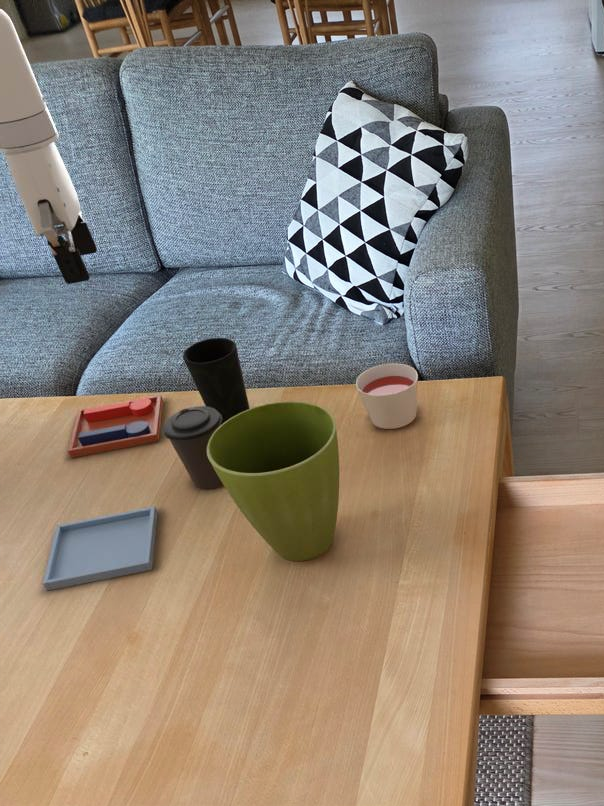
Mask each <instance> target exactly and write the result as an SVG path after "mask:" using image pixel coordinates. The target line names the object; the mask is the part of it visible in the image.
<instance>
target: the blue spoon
mask: <svg viewBox="0 0 604 806" xmlns="http://www.w3.org/2000/svg"><path fill="white" fill-rule="evenodd" d="M146 434H150V428H149V426H148V423H147V422H145V421H137V422H134V423H131V424H129V425H128V426H127V427H126V425H120V426H115V427H109V428H104V429H99V430H93V431H88V432H83V433H79V436H78V439H79V441H80V443H81V445H82V446H88V445H93V444H99V443H104V442H109V441H114V440H120V439H125V438H128V437H129V438H130V437H136V436H141V435H146Z"/></svg>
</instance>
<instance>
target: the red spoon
mask: <svg viewBox="0 0 604 806" xmlns="http://www.w3.org/2000/svg"><path fill="white" fill-rule="evenodd" d="M141 398H142V399H140V398H137V399H138V400H135V399H134V400H135V401H133V402H132V403H131V404H130V402H124V401H122V402H123V403H119V402H117V403H118V404H113V403H112V404H113V405H108V404H106V405H107V406H102V405H101V406H102V407H97V406H95V407H96V408H92V407H90V408H91V409H86V408H85V409H86V410H84V416H85V418H86V420H87V423H90V422H95V421H100V420H106V419H111V418H117V417H122V416H127V415H132V414H133V415H134V416H144V415H147V414H149V413H150V412H152V411H153V405H152V403H151V400H150V399H147V398H146V397H141Z"/></svg>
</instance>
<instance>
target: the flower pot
mask: <svg viewBox="0 0 604 806" xmlns="http://www.w3.org/2000/svg"><path fill="white" fill-rule="evenodd" d="M339 454H340V453H339V441H338V431H337V423H336V419H335V418H334V416H333V415H332V414H331V413H330V412H329V411H328V410H327V409H325V408H324V407H322V406H319V405H317V404H314V403H312V402H311V403H310V402H304V401H296V400H295V401H294V400H292V401H291V400H290V401H288V400H287V401H286V400H285V401H277V402H276V401H275V402H270V403H265V404H262V405H258V406H254V407H251V408H250V409H249V410H246V411H244V412H241V413H239V414H237V415H235V416H234V417H232V418H230V419H229V420H227V421H226V422H224V423H223V424H222V425H221V426H219V427H218V428H217V429H216V431H215V432H214V433H213V434H212V436H211V438H210V440H209V442H208V446H207V456H208V458H209V460H210V462H211V464H212V466H213V468H214V469H215V471H216V473H217V475H218V476H219V478H220V480H221V481H222V483H223V487H224V489H225V490H226V492H227V493H228V495H229V496H230V498H231V499H232V501H233V502H234V503H235V505H236V506H237V508H238V510H240V512H241V513H242V515H243V516H244V517H245V518H246V520H247V521H248V522H249V524H250V525H251V526H252V528H253V529H254V530H255V531H256V532H257V534H259V536H260V537H261V539H263V540H264V541H265V543H267V544H268V545H269V547H270V548H271V549H272V550H273V551H274V552H275V553H277V555H279V556H280V557H281V558H282V559H284V560H287V561H292V562H305V561H310V560H312V559H316V558H317V557H319V556H321V555H323V554H325V553H326V552H327V551H328V550H329V548H330V547H331V546H332V545H333V543H334V538H335V532H336V527H337V521H338V520H337V519H338V511H339V499H340V497H339V496H340V455H339Z"/></svg>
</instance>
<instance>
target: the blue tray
mask: <svg viewBox="0 0 604 806" xmlns="http://www.w3.org/2000/svg"><path fill="white" fill-rule="evenodd" d="M157 510H158V509H157V508H156V506H149V507H143V508H139V509H134V510H128V511H124V512H118V513H113V514H108V515H102V516H98V517H93V518H87V519H82V520H76V521H72V522H67V523H62V524H61V523H60V524H57V525H55V529H54V530H55V531H54V534H53V539H52V543H51V547H50V551H49V555H48V561H47V564H46V568H45V571H44V577H43V581H42V585H43V587H44V589H45V590H46V591H53V590H57V589H62V588H67V587H71V586H77V585H78V586H79V585H82V584H88V583H92V582H97V581H102V580H108V579H113V578H117V577H122V576H127V575H133V574H137V573H143V572H148V571H152V570H153V565H154V564H153V563H154V556H155V555H154V554H155V545H156V535H157V527H158V518H159V517H158V515H159V512H158V511H157Z"/></svg>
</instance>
